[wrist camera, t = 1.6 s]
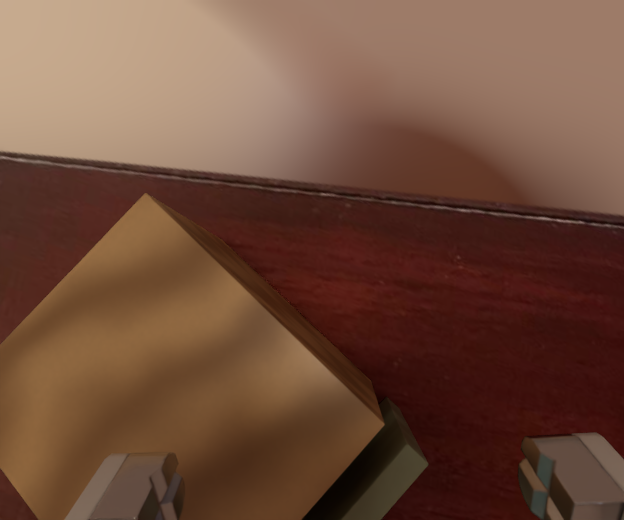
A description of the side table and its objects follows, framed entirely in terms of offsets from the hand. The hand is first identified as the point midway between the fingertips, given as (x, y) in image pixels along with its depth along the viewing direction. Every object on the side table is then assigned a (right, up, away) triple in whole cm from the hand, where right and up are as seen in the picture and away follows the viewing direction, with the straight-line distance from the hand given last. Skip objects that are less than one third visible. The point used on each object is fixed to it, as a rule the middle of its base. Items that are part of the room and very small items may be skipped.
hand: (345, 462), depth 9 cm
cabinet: (-7, -4, +19) cm, 21 cm away
